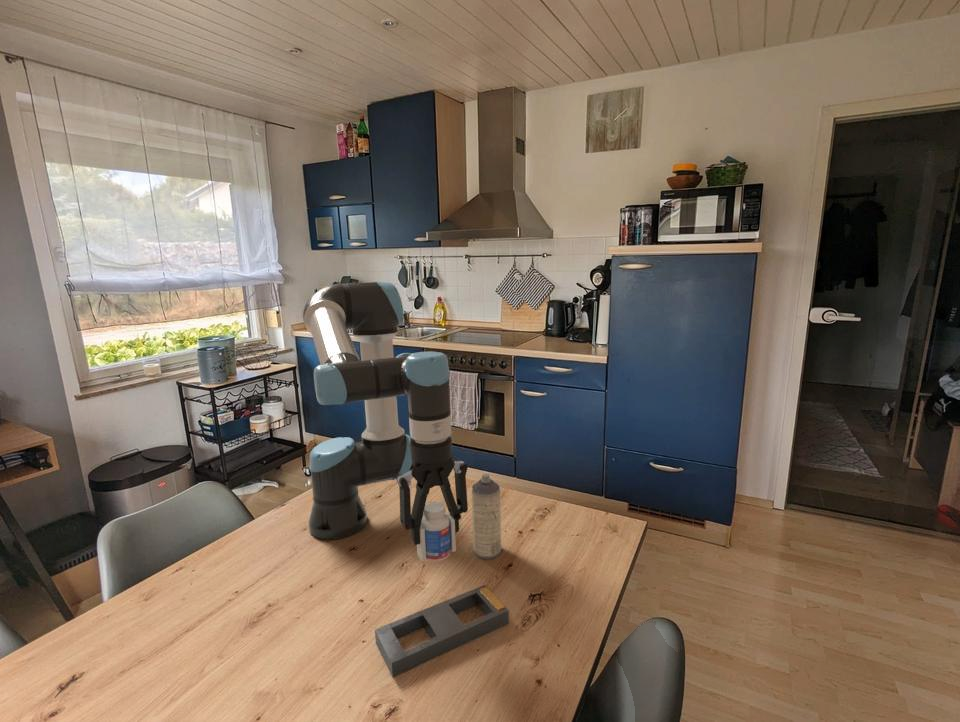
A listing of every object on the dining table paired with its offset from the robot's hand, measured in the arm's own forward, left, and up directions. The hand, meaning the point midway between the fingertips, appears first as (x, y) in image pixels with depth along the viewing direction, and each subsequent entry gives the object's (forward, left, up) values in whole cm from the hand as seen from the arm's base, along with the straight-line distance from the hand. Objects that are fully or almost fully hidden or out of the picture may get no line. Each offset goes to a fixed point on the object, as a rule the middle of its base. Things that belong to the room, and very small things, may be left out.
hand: (436, 552), depth 93 cm
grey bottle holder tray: (+3, -1, -16) cm, 16 cm away
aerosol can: (-16, +20, -16) cm, 30 cm away
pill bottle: (0, 0, -1) cm, 1 cm away
